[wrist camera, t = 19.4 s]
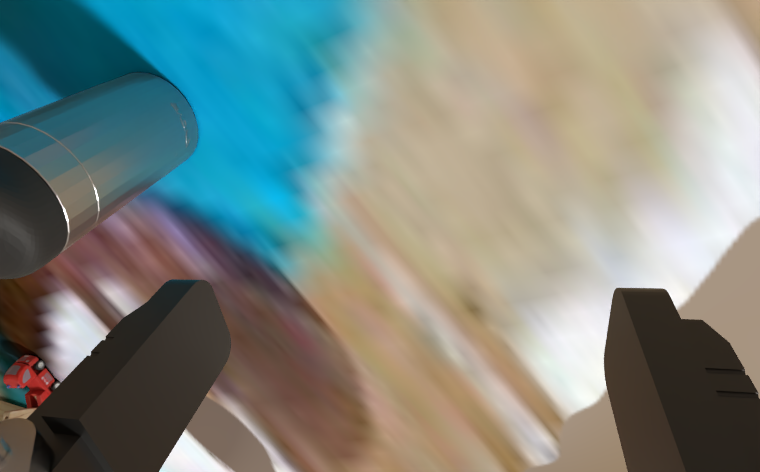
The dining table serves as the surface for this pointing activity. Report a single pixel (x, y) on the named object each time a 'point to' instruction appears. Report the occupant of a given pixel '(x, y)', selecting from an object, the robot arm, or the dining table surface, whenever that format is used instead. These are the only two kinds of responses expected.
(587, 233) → the dining table surface
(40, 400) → the toy fire truck
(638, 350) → the robot arm
